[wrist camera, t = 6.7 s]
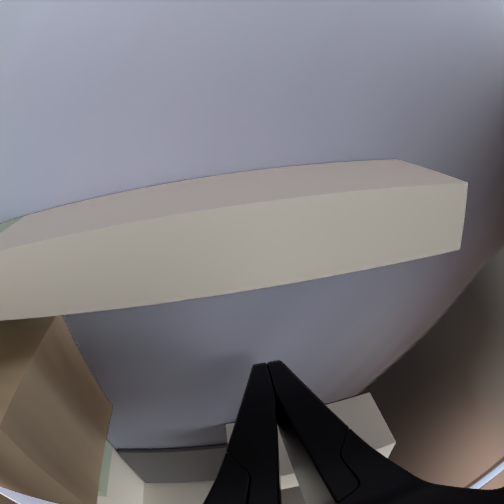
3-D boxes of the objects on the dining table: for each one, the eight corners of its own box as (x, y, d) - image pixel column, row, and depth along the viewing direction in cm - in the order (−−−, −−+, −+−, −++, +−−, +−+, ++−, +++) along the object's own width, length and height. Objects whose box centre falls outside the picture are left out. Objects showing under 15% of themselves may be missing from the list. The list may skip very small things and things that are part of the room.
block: (60, 308, 9) (-1, 427, 4) (113, 405, 11) (96, 510, 6) (-28, 316, 8) (-86, 401, 4) (26, 402, 10) (-3, 485, 6)
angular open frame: (397, 159, 8) (468, 182, 5) (348, 461, 15) (363, 498, 13) (-77, 250, 7) (-120, 285, 4) (85, 485, 14) (80, 520, 11)
